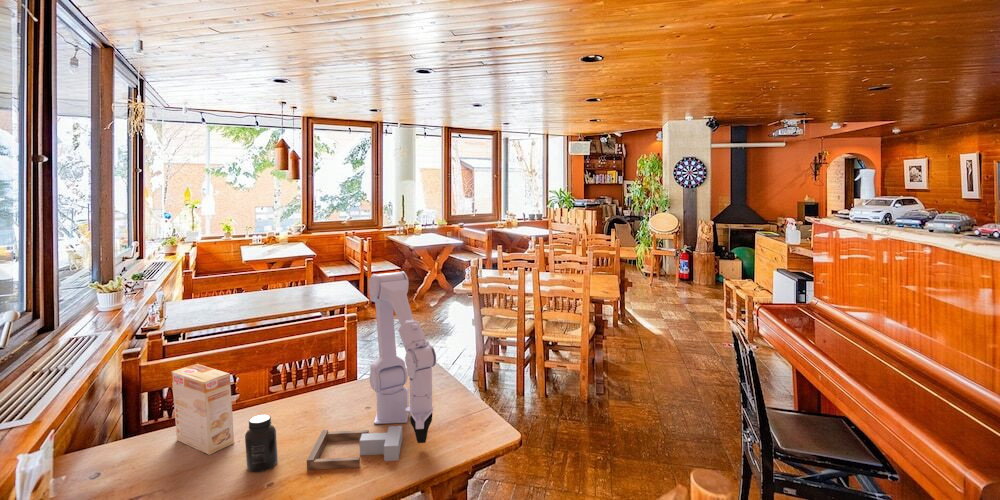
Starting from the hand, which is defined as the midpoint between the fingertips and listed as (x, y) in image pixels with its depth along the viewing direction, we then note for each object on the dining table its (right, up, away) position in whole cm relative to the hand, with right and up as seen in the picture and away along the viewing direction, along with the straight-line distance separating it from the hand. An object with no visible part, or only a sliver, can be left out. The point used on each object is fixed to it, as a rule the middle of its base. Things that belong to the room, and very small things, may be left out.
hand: (421, 441), depth 125 cm
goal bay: (-21, -2, -2) cm, 21 cm away
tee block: (-10, -2, -1) cm, 11 cm away
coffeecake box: (-58, -1, +3) cm, 58 cm away
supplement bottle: (-38, -3, -8) cm, 39 cm away
